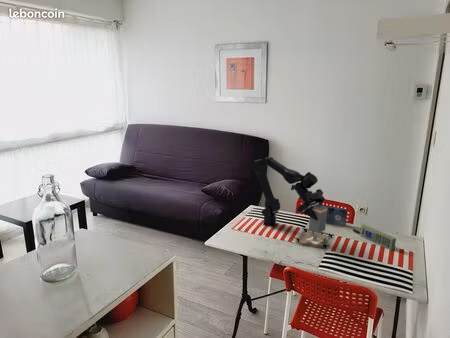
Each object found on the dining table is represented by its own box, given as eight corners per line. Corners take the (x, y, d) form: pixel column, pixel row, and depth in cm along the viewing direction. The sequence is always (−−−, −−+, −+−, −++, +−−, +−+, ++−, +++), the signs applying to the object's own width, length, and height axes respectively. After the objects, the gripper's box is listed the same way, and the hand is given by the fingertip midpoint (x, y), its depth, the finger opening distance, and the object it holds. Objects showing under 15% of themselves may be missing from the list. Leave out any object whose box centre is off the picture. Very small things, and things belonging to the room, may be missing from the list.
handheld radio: (390, 251, 169) (350, 232, 190) (395, 250, 170) (354, 231, 192) (393, 239, 167) (352, 221, 188) (397, 237, 169) (356, 220, 190)
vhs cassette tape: (346, 224, 200) (347, 209, 197) (345, 226, 197) (347, 210, 194) (314, 219, 207) (315, 204, 205) (313, 221, 205) (314, 205, 202)
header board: (298, 244, 175) (299, 237, 174) (301, 234, 186) (301, 227, 185) (322, 248, 171) (323, 240, 170) (324, 238, 182) (324, 231, 181)
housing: (308, 229, 176) (310, 206, 173) (315, 226, 180) (317, 204, 177) (318, 233, 172) (321, 210, 169) (325, 230, 176) (327, 207, 173)
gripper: (303, 188, 167) (321, 216, 162) (323, 181, 179) (340, 206, 174) (289, 199, 174) (306, 226, 169) (309, 192, 187) (325, 216, 182)
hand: (320, 218), depth 174 cm, fingers closed on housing, 6 cm apart
